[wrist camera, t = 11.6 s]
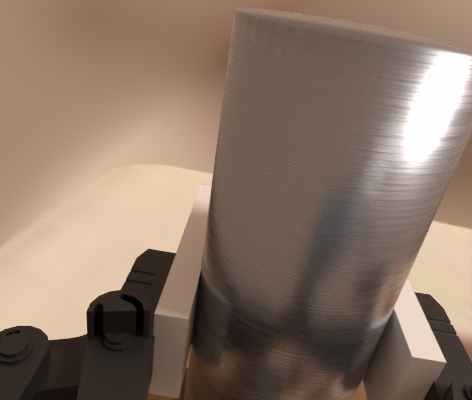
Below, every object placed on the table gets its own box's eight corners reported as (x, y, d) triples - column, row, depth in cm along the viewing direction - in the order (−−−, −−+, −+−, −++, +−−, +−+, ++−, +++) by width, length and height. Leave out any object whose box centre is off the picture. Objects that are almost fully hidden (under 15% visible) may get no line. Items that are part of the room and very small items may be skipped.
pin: (300, 425, 18) (441, 36, 10) (310, 572, 13) (573, 75, 6) (187, 406, 18) (243, 3, 10) (159, 546, 13) (220, 17, 6)
